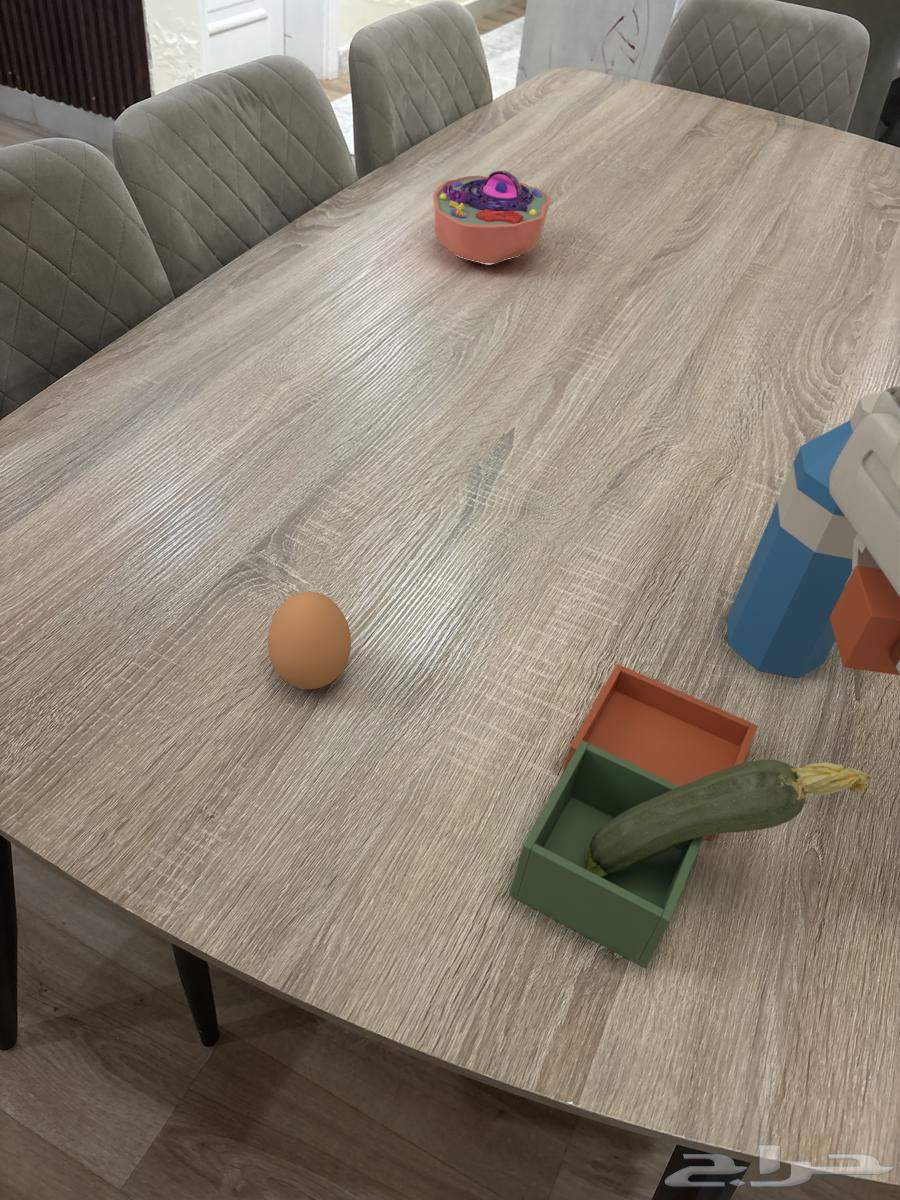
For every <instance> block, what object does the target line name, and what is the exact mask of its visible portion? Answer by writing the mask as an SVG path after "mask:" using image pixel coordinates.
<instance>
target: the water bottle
mask: <svg viewBox="0 0 900 1200" xmlns="http://www.w3.org/2000/svg"><path fill="white" fill-rule="evenodd" d="M880 394H881V393H870V394H867V395H865V396H862V397H859V399H858V401H857V404H856V406H855V408H854V410H853V412H852V414H851V416H850V419H849V420H847V421H845V422H844V423H842V424H840V425H838V426H836V427H834V428H832V429H830V430H828V431H826V432H824V433H823V434H821V435H818V436H817V437H815V438H814V439H812V440H810V441H807V442H806V443H804V444H802V445H800V446H799V449H798V451H797V452H796V453H797V454H796V456H795V458H794V461H793V463H792V465H791V467H790V469H789V472H788V475H787V477H786V478H785V482H784V483H783V486H782V489H781V491H780V493H779V496H778V498H777V500H776V503H775V505H774V507H773V510H772V512H771V514H770V516H769V519H768V522H767V523H766V527H765V528H764V530H763V532H762V536H761V537H760V540H759V542H758V544H757V547H756V549H755V551H754V554H753V556H752V559H751V561H750V563H749V566H748V568H747V570H746V573H745V575H744V577H743V579H742V582H741V584H740V587H739V589H738V591H737V593H736V596H735V598H734V600H733V602H732V605H731V608H730V610H729V613H728V615H727V616H726V624H727V644H728V646H729V647H730V648H731V649H732V650H734V651H735V653H737V654H738V655H739V656H740V657H742V658H743V659H744V660H745V661H746V662H748V664H749V665H751V667H753V668H754V669H755V670H756V671H760V672H764V673H770V674H775V675H780V676H786V677H790V678H795V679H798V678H801V677H802V676H804V675H805V674H807V673H809V672H811V671H813V670H814V669H816V668H818V667H819V666H821V665H823V664H824V663H825V661H826V659H827V658H828V655H829V654H830V652H831V650H832V648H833V647H834V645H835V643H836V638H835V635H834V631H833V627H832V623H831V620H830V615H831V614H832V612H833V610H834V608H835V606H836V604H837V602H838V600H839V598H840V596H841V594H842V592H843V590H844V588H845V585H846V583H847V581H848V579H849V577H850V575H851V573H852V571H853V569H852V559H853V541H854V539H855V537H856V535H857V533H856V532H855V530H854V529H853V527H852V526H851V524H850V523H849V521H848V520H847V518H846V517H845V515H844V514H843V512H842V511H841V509H840V508H839V507H838V505H837V504H836V502H835V501H834V499H833V498H832V496H831V495H830V492H829V480H830V473H831V471H832V469H833V467H834V465H835V463H836V461H837V459H838V457H839V455H840V453H841V452H842V450H843V448H844V446H845V445H846V443H847V441H848V440H849V438H850V436H851V435H852V433H853V432H854V430H855V429H856V427H857V426H858V424H859V423H860V422H861V421H862V420H863V419H864V418H865V417H866V416H868V415H869V414H871V412H872V410H873V408H874V406H875V403H876V401H877V399H878V397H879V395H880Z"/></svg>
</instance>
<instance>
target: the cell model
mask: <svg viewBox="0 0 900 1200" xmlns="http://www.w3.org/2000/svg"><path fill="white" fill-rule="evenodd" d="M432 201H433V202H432V203H433V204H432V208H433V218H434V223H433V224H434V226H433V227H434V234H435V236H436V238H437V239H438V241H439V242H440V243H441V244H442V245H443V246H444V247H445V248H446V249H447V250H448V251H449V252H451V253H452V254H453V253H454V254H456V255H458V256H460V257H463V258H466V259H470V260H474V261H479V262H483V263H497V262H500V261H502V260H504V259H508V258H512V257H516V256H519V255H522V254H524V253H526V254H527V253H529V252H530V251H531V250H533V248H535V247H536V246H537V245H538V244H539V243H540V240H541V238H542V233H543V230H544V227H545V222H546V218H547V215H548V211H549V209H550V205H551V203H552V201H551V197H550V196H549V195H548V194H547V193H546V192H545V191H543V190H542V189H541V188H538V187H536V186H534V185H531V184H527V183H523V182H520V181H519V179H518V178H517V177H516V176H515V175H514V174H512V173H511V172H509V171H507V170H495V171H493V172H491V173H490V174H489V175H488V176H483V175H466V176H464V177H458V178H456V179H455V178H454V179H451V180H445V181H444V182H442V183H441V184H440V185H439V186H438V187H437V188H436V189H435V191H434V193H433V195H432ZM454 254H453V255H454ZM456 255H455V256H456ZM524 255H525V254H524ZM466 261H468V260H466ZM468 262H469V261H468ZM470 262H472V261H470ZM472 263H473V262H472ZM474 263H476V262H474ZM476 264H477V263H476ZM485 266H486V267H488V266H487V265H485Z"/></svg>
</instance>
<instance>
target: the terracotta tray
mask: <svg viewBox="0 0 900 1200" xmlns="http://www.w3.org/2000/svg"><path fill="white" fill-rule="evenodd" d="M757 729H758V725H757V724H755V723H753V722H750V721H749V720H746V719H744V718H742V717H739V716H737V715H734V714H733V713H730V712H728V711H726V710H723V709H721V708H719V707H716V705H715V706H714V705H712V704H710V703H708V702H705V701H703V700H701V699H699V698H696V697H694V696H692V695H690V694H687V693H685V692H683V691H680V690H678V689H676V688H675V687H671V686H669V685H666V684H665V683H662V682H660V681H658V680H655V679H654V678H651V677H648V676H647V675H644V674H642V673H639V672H637V671H635V670H633V669H631V668H628V667H625V666H624V665H622V664H620V663H616V664H615V666H614V668H613V669H612V672H611V673H610V675H609V677H608V679H607V680H606V682H605V683H604V686H603V687H602V689H601V691H600V693H599V694H598V696H597V698H596V699H595V702H594V703H593V705H592V707H591V708H590V710H589V712H588V714H587V715H586V717H585V719H584V721H583V722H582V724H581V726H580V728H579V730H578V731H577V733H576V735H575V737H574V739H573V740H572V742H571V744H570V745H569V747H568V748H569V749H568V752H567V755H566V759H565V762H564V765H563V770H564V771H565V769H566V767H567V766H568V764H569V762H570V760H571V758H572V757H573V755H574V753H575V751H576V750H577V748H578V746H579V744H580V742H581V741H582V740H583V741H585V742H587V743H589V744H592V745H594V746H596V747H598V748H600V749H602V750H604V751H606V752H609V753H611V754H613V755H615V756H617V757H619V758H621V759H623V760H626V761H628V762H630V763H632V764H634V765H636V766H638V767H640V768H643V769H645V770H647V771H649V772H651V773H653V774H655V775H657V776H660V777H662V778H664V779H666V780H668V781H670V782H672V783H674V784H677V785H679V786H682V785H685V784H687V783H690V782H693V781H696V780H698V779H700V778H703V777H705V776H707V775H710V774H712V773H715V772H718V771H721V770H724V769H727V768H729V767H732V766H735V765H738V764H741V763H745V761H746V758H747V757H748V756H747V755H748V753H749V751H750V749H751V745H752V744H753V740H754V737H755V734H756V732H757ZM714 836H715V835H709V836H704V837H703V838H704V839H707V840H709V841H712V839H713V838H714Z"/></svg>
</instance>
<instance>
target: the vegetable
mask: <svg viewBox="0 0 900 1200" xmlns="http://www.w3.org/2000/svg"><path fill="white" fill-rule="evenodd" d="M870 779H871V776H870V775H869V774H868V773H864V772H862V770H861V769H859V770H857V769H856V768H852V767H850V766H849V767H847V768H845V767H844V765H843V764H841V763H840V764H836V763H830V762H814V763H809V764H806V765H804V766H801V767H798V766H797V767H794V766H793V765H791V764H789V763H787V762H784V761H781V760H777V759H771V758H767V759H755V760H751V761H746V762H744V763H741V764H738V765H735V766H732V767H729V768H727V769H724V770H721V771H718V772H715V773H712V774H710V775H707V776H705V777H703V778H700V779H698V780H696V781H693V782H690V783H687V784H685V785H682V786H680V787H677V788H675V789H673V790H671V791H668V792H666V793H664V794H662V795H660V796H657V797H655V798H653V799H651V800H648V801H646V802H644V803H641V804H639V805H637V806H634V807H632V808H630V809H629V810H627V811H625V812H623V813H621V814H620V815H618V816H617V817H615V818H614V819H612V820H611V821H609V822H608V823H606V824H605V825H603V826H602V827H601V828H600V829H598V830H597V832H596V833H595V834H594V836H593V837H592V841H591V843H590V847H589V849H588V851H587V856H586V860H587V861H588V865H587V867H586V869H587V870H588V871H590V872H592V873H594V874H596V875H598V876H600V877H604V876H606V875H608V874H609V873H614V872H617V871H624V870H627V869H629V868H631V867H633V866H635V865H636V864H639V863H641V862H643V861H645V860H647V859H650V858H652V857H654V856H656V855H658V854H661V853H663V852H665V851H667V850H669V849H671V848H673V847H675V846H677V845H678V844H680V843H682V842H685V841H688V840H691V839H694V838H698V837H703V836H709V835H714V836H716V835H724V834H734V833H744V832H751V831H761V830H766V829H772V828H775V827H778V826H781V825H784V824H786V823H788V822H791V821H792V820H793V819H795V818H796V817H797V816H799V814H800V813H801V812H802V810H803V808H804V807H805V805H806V804H807V802H806V801H807V796H808V794H813V795H815V796H826V795H829V794H833V793H838V792H841V791H844V790H845V789H849V790H850V791H852V792H862V791H865V790H866V788H867V787H868V786H869V780H870ZM703 838H704V837H703Z"/></svg>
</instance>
